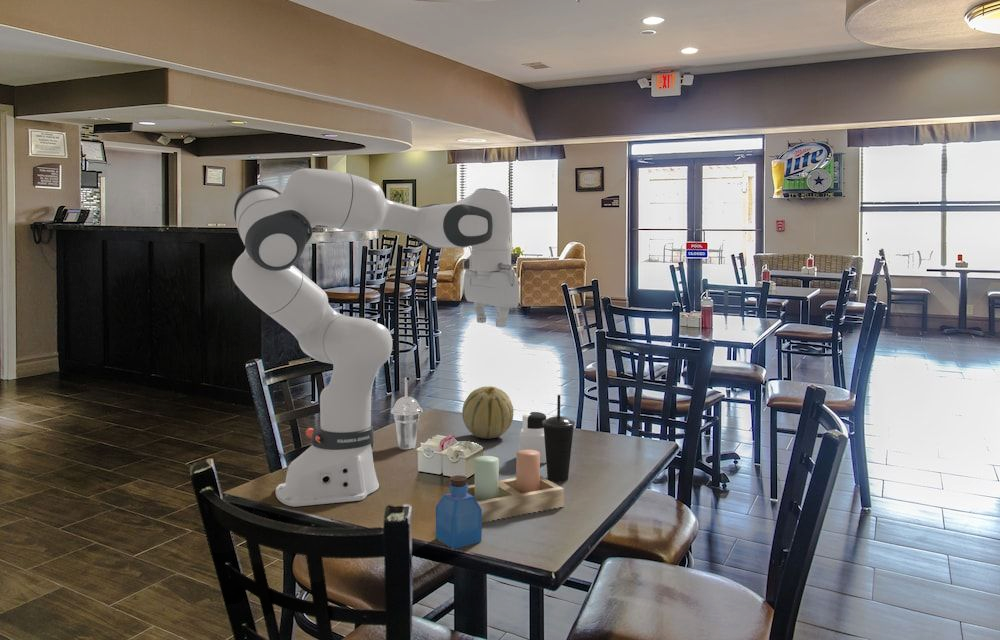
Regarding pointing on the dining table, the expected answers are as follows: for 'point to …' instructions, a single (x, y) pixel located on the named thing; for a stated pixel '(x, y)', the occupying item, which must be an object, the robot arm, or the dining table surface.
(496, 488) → the green peg
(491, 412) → the cantaloupe
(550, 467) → the drinking cup
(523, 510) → the wooden tray
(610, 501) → the dining table surface
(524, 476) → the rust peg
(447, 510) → the perfume bottle
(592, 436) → the dining table surface
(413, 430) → the cup with straw
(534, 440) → the medicine bottle
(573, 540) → the dining table surface
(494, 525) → the dining table surface
